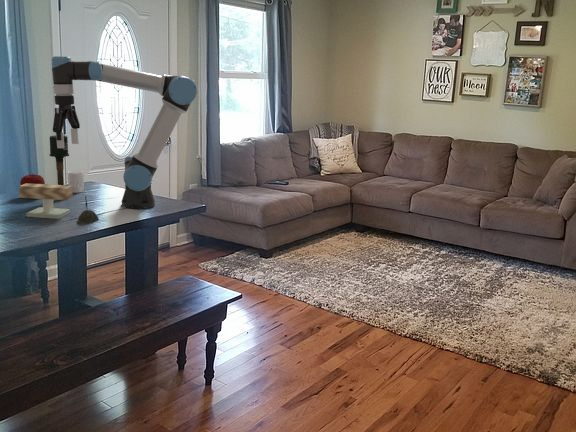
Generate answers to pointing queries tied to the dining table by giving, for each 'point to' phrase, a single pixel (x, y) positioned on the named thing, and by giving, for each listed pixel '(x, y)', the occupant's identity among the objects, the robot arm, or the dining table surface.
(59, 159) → the stick grenade
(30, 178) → the apple
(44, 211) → the fulcrum
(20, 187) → the beam
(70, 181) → the white cup
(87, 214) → the sword in stone
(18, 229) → the dining table surface
